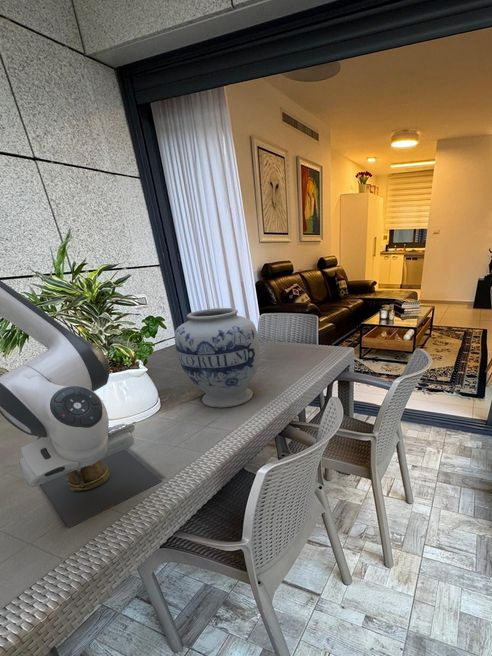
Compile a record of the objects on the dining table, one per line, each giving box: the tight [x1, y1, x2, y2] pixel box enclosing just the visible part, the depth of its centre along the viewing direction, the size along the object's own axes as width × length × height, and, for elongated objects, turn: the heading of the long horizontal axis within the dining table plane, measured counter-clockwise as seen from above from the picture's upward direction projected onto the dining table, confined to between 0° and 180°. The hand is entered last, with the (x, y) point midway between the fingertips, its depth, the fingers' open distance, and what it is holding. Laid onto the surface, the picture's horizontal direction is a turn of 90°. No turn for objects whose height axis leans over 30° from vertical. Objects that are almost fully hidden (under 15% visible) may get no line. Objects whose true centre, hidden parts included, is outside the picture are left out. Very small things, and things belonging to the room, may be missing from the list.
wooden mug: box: [36, 437, 110, 491], centre depth 79 cm, size 9×14×18 cm, turn 15°
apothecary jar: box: [174, 307, 261, 409], centre depth 119 cm, size 27×27×30 cm
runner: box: [39, 449, 163, 529], centre depth 86 cm, size 20×28×1 cm
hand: (83, 465), depth 79 cm, fingers closed
